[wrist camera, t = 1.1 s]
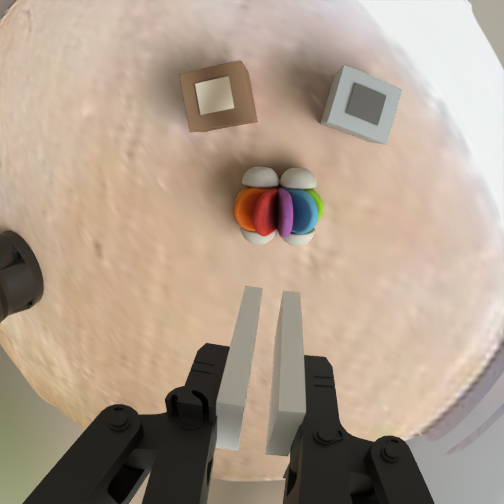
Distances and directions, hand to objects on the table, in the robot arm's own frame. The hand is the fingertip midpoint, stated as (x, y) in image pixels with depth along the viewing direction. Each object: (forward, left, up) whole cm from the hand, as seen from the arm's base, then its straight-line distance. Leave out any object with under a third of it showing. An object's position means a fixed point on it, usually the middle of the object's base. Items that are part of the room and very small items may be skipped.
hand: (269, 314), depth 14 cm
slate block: (+7, +12, -23) cm, 26 cm away
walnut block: (-7, +11, -23) cm, 26 cm away
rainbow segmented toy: (0, 0, -23) cm, 23 cm away
